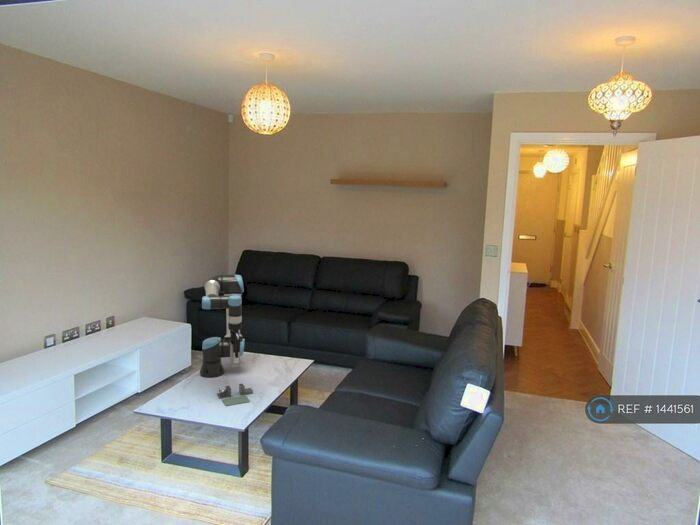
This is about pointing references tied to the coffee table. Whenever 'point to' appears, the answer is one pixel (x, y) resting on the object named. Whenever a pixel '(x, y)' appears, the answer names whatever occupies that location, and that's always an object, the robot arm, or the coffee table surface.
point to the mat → (235, 400)
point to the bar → (233, 355)
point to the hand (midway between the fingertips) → (235, 361)
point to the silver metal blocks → (227, 391)
